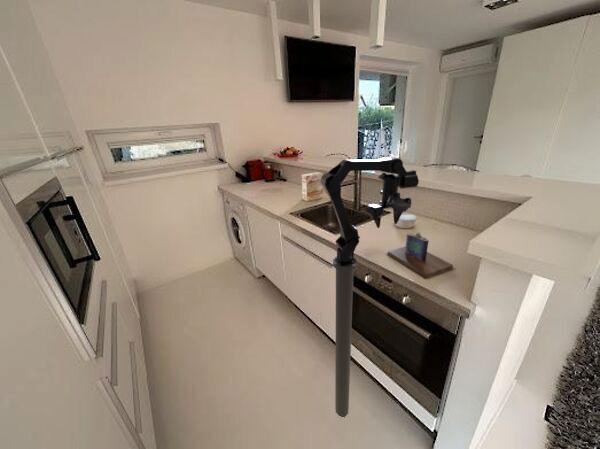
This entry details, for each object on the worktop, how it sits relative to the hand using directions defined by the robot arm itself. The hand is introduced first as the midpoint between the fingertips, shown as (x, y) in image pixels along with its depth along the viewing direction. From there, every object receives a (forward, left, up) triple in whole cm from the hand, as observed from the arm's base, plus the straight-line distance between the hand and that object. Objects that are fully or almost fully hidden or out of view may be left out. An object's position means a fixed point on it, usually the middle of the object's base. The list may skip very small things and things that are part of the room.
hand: (386, 225), depth 103 cm
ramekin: (+30, +19, -13) cm, 38 cm away
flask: (+7, -10, -12) cm, 17 cm away
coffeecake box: (+10, +94, -13) cm, 95 cm away
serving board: (+7, -12, -13) cm, 19 cm away
